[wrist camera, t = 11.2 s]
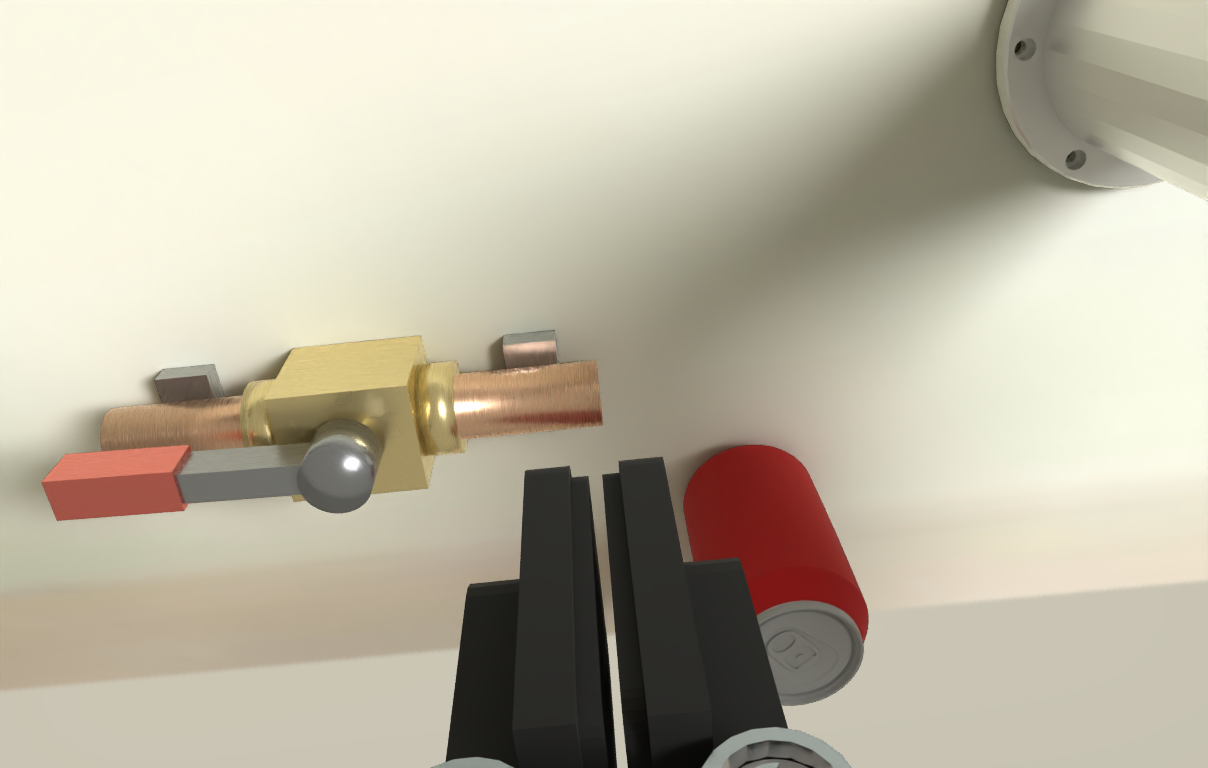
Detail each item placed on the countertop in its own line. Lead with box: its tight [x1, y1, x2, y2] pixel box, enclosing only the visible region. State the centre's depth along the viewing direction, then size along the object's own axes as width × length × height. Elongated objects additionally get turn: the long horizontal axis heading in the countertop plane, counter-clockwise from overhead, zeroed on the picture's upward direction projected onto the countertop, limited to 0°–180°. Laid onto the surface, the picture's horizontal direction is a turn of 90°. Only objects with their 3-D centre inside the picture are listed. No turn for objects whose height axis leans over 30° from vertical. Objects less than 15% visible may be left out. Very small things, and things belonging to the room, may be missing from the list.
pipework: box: [100, 330, 603, 502], centre depth 43 cm, size 22×5×5 cm, turn 95°
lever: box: [42, 419, 383, 521], centre depth 39 cm, size 13×3×3 cm, turn 94°
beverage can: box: [684, 445, 868, 706], centre depth 44 cm, size 7×7×12 cm
